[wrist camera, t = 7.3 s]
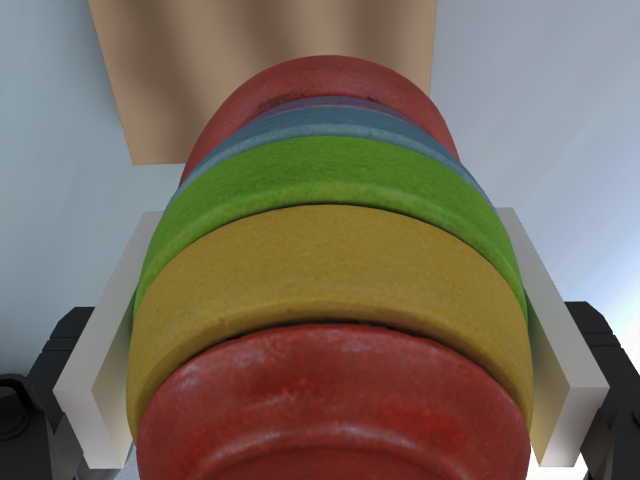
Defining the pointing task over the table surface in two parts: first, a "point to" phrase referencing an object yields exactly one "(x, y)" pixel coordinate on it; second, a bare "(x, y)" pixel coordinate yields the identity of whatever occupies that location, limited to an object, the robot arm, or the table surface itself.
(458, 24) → the table surface
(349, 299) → the stacking bear
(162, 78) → the walnut plinth
